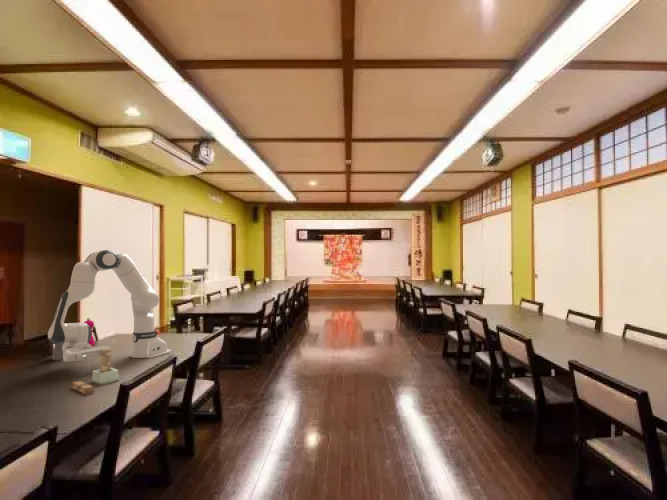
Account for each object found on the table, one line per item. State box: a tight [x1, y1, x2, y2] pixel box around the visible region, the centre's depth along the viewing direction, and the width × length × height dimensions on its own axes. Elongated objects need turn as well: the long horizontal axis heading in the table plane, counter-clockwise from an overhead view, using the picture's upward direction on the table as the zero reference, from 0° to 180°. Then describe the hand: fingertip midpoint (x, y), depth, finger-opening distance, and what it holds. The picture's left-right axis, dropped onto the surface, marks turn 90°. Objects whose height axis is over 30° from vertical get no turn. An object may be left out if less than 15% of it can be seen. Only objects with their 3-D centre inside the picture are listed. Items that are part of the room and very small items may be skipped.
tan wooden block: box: [100, 348, 112, 373], centre depth 184 cm, size 3×3×14 cm
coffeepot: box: [51, 342, 65, 361], centre depth 223 cm, size 15×9×18 cm, turn 67°
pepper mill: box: [83, 317, 96, 347], centre depth 243 cm, size 7×7×20 cm
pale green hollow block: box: [91, 367, 119, 386], centre depth 184 cm, size 8×8×5 cm
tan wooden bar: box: [71, 380, 95, 396], centre depth 170 cm, size 14×3×3 cm, turn 55°
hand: (94, 355), depth 191 cm, fingers open, 8 cm apart
